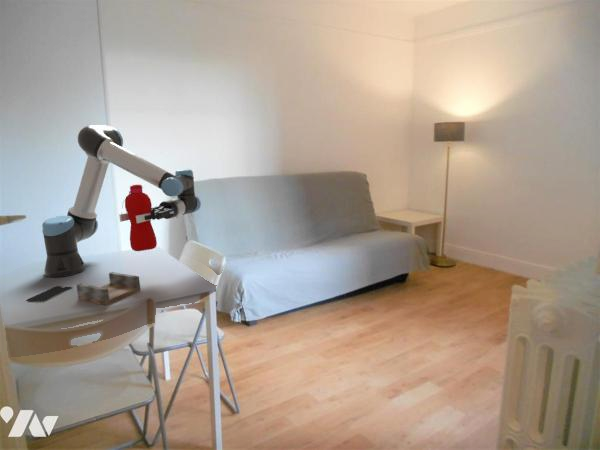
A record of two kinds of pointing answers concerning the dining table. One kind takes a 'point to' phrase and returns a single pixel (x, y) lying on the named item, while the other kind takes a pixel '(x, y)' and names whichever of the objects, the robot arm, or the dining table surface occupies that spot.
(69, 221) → the robot arm
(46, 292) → the smartphone
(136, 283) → the bottle holder
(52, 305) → the dining table surface
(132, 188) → the water bottle
